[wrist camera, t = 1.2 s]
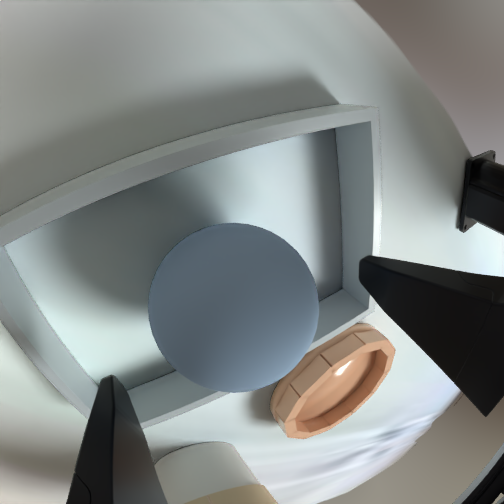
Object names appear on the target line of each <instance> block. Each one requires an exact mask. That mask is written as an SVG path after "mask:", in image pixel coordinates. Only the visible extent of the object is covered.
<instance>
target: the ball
mask: <svg viewBox="0 0 504 504" xmlns="http://www.w3.org/2000/svg"><path fill="white" fill-rule="evenodd" d="M148 313H149V321H150V326H151V330H152V334H153V337H154V339H155V341H156V343H157V346H158V348H159V350H160V351H161V353H162V354H163V355H164V357H165V358H166V360H167V361H168V362H169V363H170V364H171V365H172V366H173V367H174V368H175V369H176V370H177V371H178V372H179V373H180V374H181V375H183V376H184V377H186V378H187V379H189V380H190V381H192V382H193V383H196V384H198V385H200V386H203V387H205V388H208V389H211V390H215V391H221V392H229V393H236V392H248V391H253V390H257V389H260V388H263V387H265V386H268V385H270V384H272V383H274V382H276V381H278V380H280V379H281V378H283V377H284V376H285V375H287V374H288V373H289V372H290V371H291V370H293V369H294V368H295V366H296V365H297V364H298V363H299V362H300V361H301V359H302V358H303V357H304V355H305V354H306V352H307V351H308V349H309V347H310V345H311V343H312V340H313V338H314V335H315V332H316V329H317V323H318V317H319V300H318V292H317V288H316V285H315V281H314V278H313V276H312V274H311V272H310V270H309V268H308V266H307V264H306V263H305V261H304V260H303V259H302V257H301V256H300V255H299V253H298V252H297V251H296V250H295V249H294V248H293V247H292V246H291V245H290V244H288V243H287V242H286V241H285V240H284V239H282V238H281V237H279V236H277V235H276V234H274V233H272V232H270V231H268V230H265V229H263V228H260V227H257V226H253V225H249V224H240V223H225V224H218V225H213V226H210V227H206V228H203V229H201V230H199V231H197V232H194V233H192V234H191V235H189V236H187V237H186V238H184V239H183V240H182V241H180V242H179V243H178V244H177V245H176V246H175V247H174V248H173V249H172V250H171V251H170V252H169V253H168V254H167V255H166V257H165V258H164V259H163V261H162V262H161V264H160V265H159V267H158V269H157V271H156V273H155V276H154V278H153V281H152V284H151V288H150V293H149V303H148Z"/></svg>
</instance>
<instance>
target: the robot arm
mask: <svg viewBox="0 0 504 504" xmlns="http://www.w3.org/2000/svg"><path fill="white" fill-rule="evenodd" d="M477 222H478V223H480V224H482V225H484V226H486V227H488V228H490V229H492V230H494V231H496V232H498V233H500V234H502V235H504V165H501V164H498V163H496V162H495V151H492V150H490V151H487V152H485V153H482V154H480V155H477V156H475V157H472V158H470V159H468V161H467V167H466V179H465V190H464V198H463V206H462V214H461V220H460V227H459V231H461V232H463V233H464V232H466V231H467V230H468V229H469V228H471V227H472V226H473V225H474V224H476V223H477ZM358 278H359V281H360V283H361V285H362V286H363V287H364V288H365V289H366V290H367V292H368V293H369V294H370V295H371V296H372V298H373V299H374V300H375V301H376V302H377V304H378V305H379V306H380V307H381V308H382V309H383V311H384V312H385V313H386V314H387V315H388V316H389V317H390V318H391V319H392V320H393V321H394V322H395V323H396V324H397V325H398V326H399V327H400V328H401V329H402V330H403V331H404V332H405V333H406V334H407V335H408V336H409V337H410V338H411V339H412V340H413V341H414V342H415V343H416V344H417V345H418V346H419V347H420V348H421V349H422V350H423V351H424V352H425V353H426V354H427V355H428V356H429V357H430V358H431V359H432V360H433V361H434V362H435V363H436V364H437V365H438V366H439V367H440V369H441V370H442V371H443V372H444V373H445V374H446V375H447V376H448V377H449V378H450V379H451V380H452V381H453V382H454V384H455V385H456V386H457V387H458V388H459V389H460V390H461V391H462V392H463V393H464V394H465V395H466V397H467V398H468V399H469V400H470V401H471V402H472V403H473V404H474V405H475V406H476V408H477V409H478V410H479V411H480V412H481V413H482V414H483V415H484V416H485V417H487V416H488V414H489V413H490V412H491V411H492V410H493V409H494V407H495V406H496V405H497V404H498V403H499V401H500V400H501V399H502V398H503V396H504V277H499V276H490V275H482V274H474V273H468V272H463V271H455V270H452V269H446V268H441V267H435V266H430V265H424V264H418V263H413V262H407V261H401V260H396V259H390V258H384V257H378V256H372V255H367V256H365V257H364V258H362V259H360V261H359V275H358ZM500 493H502V494H504V443H503V445H502V446H501V447H500V449H499V450H498V451H497V453H496V454H495V455H494V457H493V458H492V459H491V461H490V462H489V463H488V464H487V466H486V467H485V468H484V469H483V471H482V472H481V473H480V474H479V476H478V477H477V478H476V479H475V480H474V481H473V482H472V483H471V485H470V486H469V487H468V488H467V489H466V490H465V491H464V492H463V493H462V494H461V495H460V496H459V498H458V499H457V500H456V501H455V502H454V503H453V504H492V503H493V502H494V501H495V499H496V498H497V497H498V496H499V494H500ZM66 504H168V503H167V500H166V497H165V495H164V492H163V489H162V487H161V484H160V481H159V478H158V476H157V473H156V470H155V467H154V464H153V461H152V458H151V454H150V451H149V448H148V445H147V441H146V438H145V435H144V433H143V430H142V428H141V425H140V423H139V420H138V418H137V415H136V413H135V410H134V407H133V405H132V402H131V399H130V397H129V394H128V392H127V390H126V389H125V388H124V386H123V385H122V384H121V383H120V382H119V380H118V379H117V378H116V377H115V376H114V375H110V376H107V377H105V378H103V379H102V380H101V382H100V385H99V388H98V391H97V394H96V397H95V400H94V403H93V406H92V409H91V413H90V416H89V419H88V423H87V426H86V429H85V433H84V436H83V440H82V444H81V447H80V451H79V455H78V459H77V463H76V467H75V473H74V474H73V479H72V483H71V487H70V491H69V495H68V499H67V502H66ZM496 504H504V497H502V498H501V499H500V500H499V501H498V502H497V503H496Z"/></svg>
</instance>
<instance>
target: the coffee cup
mask: <svg viewBox="0 0 504 504" xmlns="http://www.w3.org/2000/svg"><path fill="white" fill-rule="evenodd" d="M154 467H155V470H156V473H157V476H158V478H159V481H160V484H161V487H162V489H163V492H164V495H165V497H166V500H167V503H168V504H278V503H277V502H276V500H275V499H274V498H273V497H272V495H271V494H270V493H269V491H268V490H267V489H266V488H265V486H263V485H261V484H260V483H259V481H258V480H257V478H256V477H255V476H254V474H253V473H252V472H251V470H250V469H249V467H248V466H247V465H246V463H245V462H244V460H243V459H242V457H241V456H240V454H239V453H238V451H237V450H236V449H235V447H234V446H233V445H231V444H229V443H225V442H207V443H200V444H195V445H191V446H187V447H184V448H181V449H178V450H176V451H174V452H171V453H169V454H167V455H166V456H164V457H162V458H161V459H160V460H159V461H157V463H156V464H155V465H154Z"/></svg>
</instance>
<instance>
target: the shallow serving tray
mask: <svg viewBox="0 0 504 504" xmlns="http://www.w3.org/2000/svg"><path fill="white" fill-rule="evenodd" d="M330 128H335V134H336V144H337V155H338V167H339V181H340V197H341V218H342V253H343V289H341V290H340V291H338V292H336V293H334V294H332V295H331V296H329V297H327V298H325V299H323V300H321V301H320V302H319V317H318V323H317V329H316V332H315V335H314V338H313V340H312V343H311V345H310V347H309V349H308V351H307V352H306V353H308V352H309V351H311V350H313V349H315V348H316V347H318V346H320V345H321V344H323V343H325V342H327V341H328V340H330V339H332V338H333V337H335V336H336V335H338V334H340V333H341V332H343V331H345V330H346V329H348V328H349V327H351V326H353V325H354V324H356V323H357V322H359V321H360V320H362V319H363V318H365V317H366V316H368V315H370V314H371V313H373V312H374V309H375V300H374V299H373V298H372V296H371V295H370V294H369V293H368V292H367V290H366V289H365V288H364V287H363V286H362V285H361V283H360V281H359V278H358V275H359V261H360V259H362V258H364V257H365V256H367V255H372V256H378V257H379V255H380V238H381V207H382V173H381V142H380V125H379V112H378V107H370V106H360V105H349V104H336V105H329V106H323V107H316V108H310V109H304V110H299V111H293V112H288V113H283V114H277V115H273V116H268V117H263V118H259V119H254V120H250V121H245V122H241V123H237V124H233V125H229V126H225V127H221V128H218V129H214V130H210V131H207V132H203V133H199V134H196V135H193V136H189V137H186V138H183V139H179V140H176V141H173V142H170V143H167V144H164V145H161V146H158V147H155V148H152V149H149V150H146V151H143V152H140V153H137V154H135V155H132V156H129V157H126V158H124V159H121V160H118V161H116V162H113V163H111V164H108V165H106V166H103V167H101V168H98V169H96V170H93V171H91V172H89V173H86V174H84V175H82V176H79V177H77V178H75V179H73V180H70V181H68V182H66V183H64V184H62V185H59V186H57V187H55V188H53V189H51V190H49V191H47V192H45V193H43V194H41V195H39V196H37V197H35V198H33V199H31V200H29V201H27V202H25V203H23V204H21V205H19V206H17V207H16V208H14V209H12V210H10V211H8V212H6V213H5V214H3V215H1V216H0V320H1V322H2V323H3V325H4V326H5V327H6V329H7V330H8V332H9V333H10V334H11V336H12V337H13V338H14V340H15V341H16V342H17V344H18V345H19V346H20V347H21V349H22V350H23V351H24V352H25V354H26V355H27V356H28V357H29V359H30V360H31V361H32V362H33V363H34V364H35V366H36V367H37V368H38V369H39V370H40V371H41V373H42V374H43V375H44V376H45V377H46V378H47V379H48V380H49V381H50V382H51V384H52V385H53V386H54V387H55V388H56V389H57V390H58V391H59V392H60V393H61V394H62V395H63V396H64V397H65V398H66V399H67V400H68V401H69V402H70V403H71V404H72V405H73V406H74V407H75V408H76V409H77V410H78V411H79V412H80V413H81V414H83V415H84V416H85V417H86V418H87V419H89V416H90V413H91V409H92V406H93V403H94V400H95V397H96V394H97V391H98V388H99V387H98V386H97V385H96V383H95V382H94V381H93V380H92V379H91V378H90V376H89V375H88V374H87V373H86V372H85V370H84V369H83V368H82V367H81V366H80V364H79V363H78V362H77V361H76V359H75V358H74V357H73V356H72V354H71V353H70V352H69V350H68V349H67V348H66V346H65V345H64V344H63V342H62V341H61V340H60V338H59V337H58V335H57V334H56V333H55V331H54V330H53V328H52V327H51V326H50V324H49V323H48V321H47V320H46V318H45V317H44V315H43V314H42V312H41V311H40V309H39V308H38V306H37V304H36V303H35V301H34V300H33V298H32V296H31V295H30V293H29V291H28V290H27V288H26V286H25V285H24V283H23V281H22V280H21V278H20V276H19V274H18V272H17V271H16V269H15V267H14V265H13V263H12V261H11V259H10V258H9V256H8V254H7V252H6V250H5V248H4V245H6V244H8V243H10V242H12V241H14V240H16V239H17V238H19V237H21V236H23V235H25V234H27V233H29V232H31V231H33V230H35V229H37V228H39V227H41V226H43V225H45V224H47V223H49V222H51V221H53V220H55V219H58V218H60V217H62V216H64V215H66V214H68V213H71V212H73V211H75V210H77V209H79V208H82V207H84V206H86V205H89V204H91V203H93V202H96V201H98V200H100V199H103V198H105V197H108V196H110V195H112V194H115V193H117V192H120V191H122V190H125V189H128V188H130V187H133V186H135V185H138V184H141V183H143V182H146V181H149V180H151V179H154V178H157V177H160V176H162V175H165V174H168V173H171V172H174V171H177V170H180V169H183V168H186V167H189V166H192V165H195V164H198V163H201V162H204V161H207V160H210V159H214V158H217V157H220V156H223V155H227V154H230V153H234V152H237V151H241V150H244V149H248V148H251V147H255V146H259V145H262V144H266V143H270V142H274V141H278V140H282V139H286V138H290V137H294V136H298V135H303V134H307V133H312V132H316V131H321V130H326V129H330ZM127 392H128V394H129V397H130V399H131V402H132V405H133V407H134V410H135V413H136V415H137V418H138V420H139V423H140V425H141V428H142V429H144V428H147V427H150V426H152V425H155V424H158V423H160V422H163V421H166V420H168V419H171V418H173V417H176V416H178V415H181V414H183V413H186V412H188V411H190V410H193V409H195V408H197V407H200V406H202V405H204V404H207V403H209V402H211V401H213V400H216V399H218V398H220V397H222V396H224V395H226V394H229V392H221V391H215V390H211V389H208V388H205V387H203V386H200V385H198V384H196V383H193V382H192V381H190V380H189V379H187V378H186V377H184V376H183V375H181V374H180V373H179V372H178V371H174V372H172V373H170V374H167V375H165V376H162V377H160V378H158V379H155V380H153V381H150V382H148V383H145V384H143V385H140V386H137V387H135V388H132V389H130V390H127Z"/></svg>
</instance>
